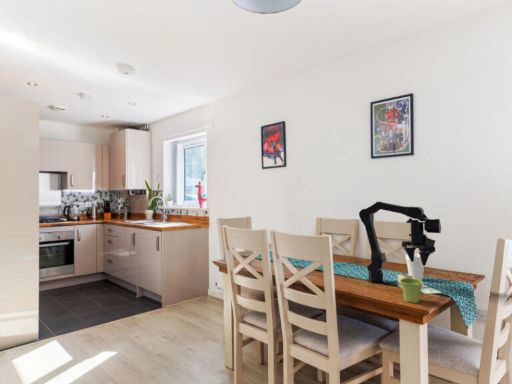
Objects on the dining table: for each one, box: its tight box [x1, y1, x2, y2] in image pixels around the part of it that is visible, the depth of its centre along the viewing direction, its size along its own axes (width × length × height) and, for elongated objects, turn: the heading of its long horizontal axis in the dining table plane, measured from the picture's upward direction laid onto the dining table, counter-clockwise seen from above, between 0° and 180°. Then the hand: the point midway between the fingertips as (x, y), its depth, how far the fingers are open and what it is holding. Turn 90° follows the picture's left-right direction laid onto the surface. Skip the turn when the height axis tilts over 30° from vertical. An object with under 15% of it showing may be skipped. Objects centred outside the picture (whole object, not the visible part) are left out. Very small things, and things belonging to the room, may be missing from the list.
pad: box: [421, 287, 443, 295], centre depth 158 cm, size 8×8×1 cm
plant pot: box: [400, 278, 424, 304], centre depth 145 cm, size 9×9×9 cm
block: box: [397, 273, 413, 289], centre depth 165 cm, size 5×5×6 cm
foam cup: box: [405, 253, 425, 281], centre depth 179 cm, size 10×9×13 cm
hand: (418, 263), depth 164 cm, fingers open, 9 cm apart
